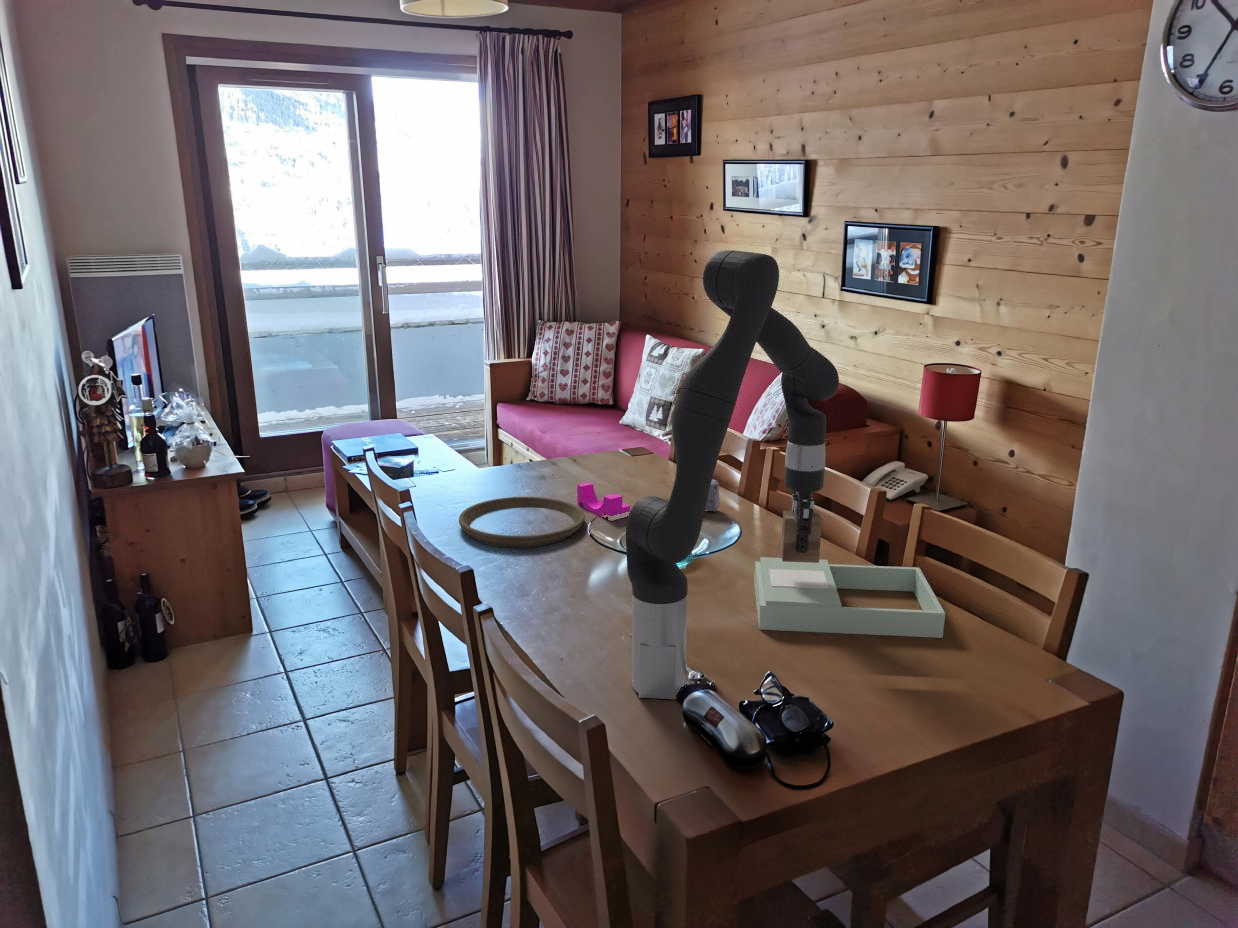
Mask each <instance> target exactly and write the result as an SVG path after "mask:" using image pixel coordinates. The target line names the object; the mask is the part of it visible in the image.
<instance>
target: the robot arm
mask: <svg viewBox="0 0 1238 928" xmlns="http://www.w3.org/2000/svg"><path fill="white" fill-rule="evenodd" d="M779 281H780V269H779V264H778V262H777V260H776V259H775V258H774V257H773V256H772V255H769V254H767V253H760V252H751V251H745V250H744V251H742V250H736V249H735V250H733V249H732V250H731V249H729V250H727V249H726V250H720V251H717V252H715V253H713V254H712V256H710V258H709V259H708V260H707V262H706V263H705V265H704V269H703V274H702V284H703V290H704V293H705V295H706V296H707V298H708V299H709V300H710V302H712V303H713V304H714V305H715V306H716V307H718V309H720V310H721V311H722V312H724V313H725V314H726V315H727V316H728V317H730V318H729V321H728V323H727V326H726V328H725V329H724V331H723V333H722V334H721V336H720V337H719V339H718V340H717V341H716V342H715V344H714V345H713V346H712V347H711V348H710V349H709V350H708V351H707V352H705V354H704V355H703V356H702V357H701V358H700V359H699V360H698V361H697V362H696V363H695V364H694V365H693V367H691V369H690V370H689V371H688V372H687V374H686V376H685V377H684V379H683V381H682V384H681V387H680V391H679V393H678V396H677V399H676V401H675V402H676V403H675V406H674V408H673V411H672V412H673V413H672V416H671V417H672V418H671V432H672V433H671V434H672V439H673V446H674V452H675V453H674V454H675V461H676V463H675V465H676V466H675V470H676V471H675V478H674V481H673V482H674V483H673V486H672V490H671V493H670V495H669V500H667V499H664V498H661V497H658V496H653V495H650V496H648V495H647V496H646V497H645V496H644V497H642V498H640V499H639V500H637V501H636V502H635V504H634V505H633V506H632V507H631V508H630V513H629V516H628V517H627V518H626V519H627V520H626V524H625V526H626V527H625V548H626V549H625V550H626V553H625V554H626V569H627V571H626V572H627V576H628V579H629V581H630V583H631V588H632V589H631V592H632V593H631V595H632V596H631V598H632V600H631V603H632V604H631V610H632V611H631V686H632V689H633V690H634V691H635V692H636V693H638V698H642V699H643V698H645V699H662V700H663V699H664V700H665V699H666V700H676V699H677V696H678V695H677V693H678V692H679V690H680V688H681V687H683V686H684V685H685V686H686V677H687V676H686V675H687V673H686V672H687V669H686V668H687V633H688V632H687V627H688V591H689V590H688V587H689V585H688V578H687V576H686V575H685V573H684V571H682V569H680V567H679V566H678V563H681V562H683V561H685V560H686V559H687V558H688V557H689V556H690V555H691V553H692V552H693V551H694V549H695V547H696V544H697V542H698V539H699V537H700V534H701V530H702V527H703V522H704V517H705V508H706V504H707V499H708V494H709V490H710V485H711V481H712V479H713V477H714V473H715V470H716V466H717V464H718V460H719V457H720V453H721V451H722V450H721V449H722V445H723V443H724V440H725V437H726V434H727V431H728V429H729V426H730V423H731V420H732V417H733V415H734V411H735V406H736V404H737V401H738V398H739V393H740V390H741V386H742V384H743V380H744V377H745V375H746V372H747V368H748V365H749V362H750V359H751V357H752V354H753V351H754V348H755V347H756V346H755V345H756V343H757V344H758V345H759V346H760V347H761V348H760V349H762V350H763V351H764V353H766V355H767V356H768V358H769V359H770V360H771V362H772V364H774V366H775V367H776V368H777V369H778V371H780V373H782V374H781V378H780V385H781V392H782V396H783V399H784V404H785V409H786V414H787V419H788V424H787V425H788V428H787V443H786V449H785V456H784V457H785V459H784V479H783V480H784V481H783V483H784V487H785V488H786V489H787V490H788V491H789V490H790V491H792V493H793V494H792V495H791V503H792V506H791V511H792V512H794V521H795V522H796V523H797V526H796V534H797V535H796V551H797V552H800V553H806V552H807V550H808V535H810V534H811V525H812V519H813V512H814V510H813V509H814V507H815V499H814V495H813V494H812V493H814V492H815V493H817V492H820V491H822V490H823V488H824V484H825V471H826V432H827V416H826V414H825V413H823V411H820V410H818V409H816V408H814V407H812V406H811V405H810V403H809V400H814V401H825V400H826V401H827V400H829V399H831V398H832V397H833V396H834V395H835V394H836V393H837V391H838V389H839V386H840V376H839V372H838V370H837V369H836V366H835V365H834V364H833V363H832V361H831V360H830V359H829V358H827V357H826V356H825V355H823V354H822V353H821V352H820V351H818V350H817V349H816V348H814V347H812V346H811V345H810V343H809V342H808V341H807V339H806V338H805V336H804V335H803V333H802V332H801V331H800V329H799V328H798V326H796V325H795V324H794V323H793V321H791V320H790V319H789V318H787V317H786V316H785V315H783V314H782V313H780V312H779V311H777V310H776V309H775V308H773V307H772V306H773V303H774V302H775V298H776V295H777V291H778V288H779V283H780V282H779ZM808 399H809V400H808ZM797 515H798V516H799V517H797ZM802 525H807V528H801V526H802ZM676 695H677V696H676Z"/></svg>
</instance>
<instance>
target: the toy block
mask: <svg viewBox="0 0 1238 928" xmlns="http://www.w3.org/2000/svg"><path fill="white" fill-rule="evenodd" d="M576 485H577V487H576V488H577V489H576V493H577V496H576V497H577V499H576V500H577V505H576V506H578V507H579V506H582V508H583V509H585V510H587V511H589V512H591V513H593V514H594V515H595V516H596V515H597V517H598V516H599V517H600V516H603V515H606V514H607V515H609V516H614V515H617V514H622V513H625V512H629V511H631V505H629V504H627V503H625V502H623V496H622V495H620V494H618V493H614V494H610V495H609V494H608V495H605V496H603V499H602V500H600V499H599V498H598V496H597V495H596V491H595V488H594V483H591V482H590V481H589V482H584V483H579V484H576Z"/></svg>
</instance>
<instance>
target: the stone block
mask: <svg viewBox="0 0 1238 928" xmlns="http://www.w3.org/2000/svg"><path fill="white" fill-rule="evenodd" d="M720 502H721V501H720V484H719V482H718V481H717V480H716V479H713V478H712V481H711V485H710V490H709V494H708V499H707V504H706V508H705V510H708V511H710V512H711V511H713V512H714V513H715V512H716V513H717V512H718V509H719V507H720ZM713 512H712V513H713Z"/></svg>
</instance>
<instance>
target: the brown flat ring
mask: <svg viewBox="0 0 1238 928" xmlns="http://www.w3.org/2000/svg"><path fill="white" fill-rule="evenodd" d="M512 508H542V509H547V510H548V509H549V510H553V511H557V512H560V513H562V514H565V515H567V516H568V517H570V518H571V519H572V520H573V524H572V525H570V526H567V527H566V528H562V529H559V530H555V531H552V532H546V533H540V534H531V535H506V534H505V535H504V534H496V533H490V532H486V531H481V530H478V529H475V528H473V527H471V524H472V523H473V522H474V521H475V520H476V519H479V517H482V516H483V515H486V514H488V513H492V512H495V511H499V510H504V509H512ZM585 518H586V515H585V512H584V510H583V509H582V508H581V507H579V506H578V505H576V504H573V503H571V502H568V501H564V500H560V499H556V498H552V497H540V496H510V497H509V496H508V497H501V498H494V499H490V500H485V501H482V502H481V501H480V502H478V503H476V504H472V505H471V506H469V507H467V508H466V509H464V510H463V511H462V512H461V513H460V515H459V517H458V522H459V526H460V527H461V529H462V530H463V531H464V532H465V533H466V534H467V535H469V536H470V537H471V539H474V540H476V541H478V542H479V543H482V544H485V545H490V546H495V547H501V548H502V547H503V548H517V549H518V548H519V549H521V548H532V547H540V546H545V545H550V544H554V543H557V542H559V541H562V540H565V539H568V538H569V537H570V536H571V535H573V534H574V533H576V532H577V531H578V530H579V529H580V528H581V526H583V525H582V524H583V523H584V522H585Z"/></svg>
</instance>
